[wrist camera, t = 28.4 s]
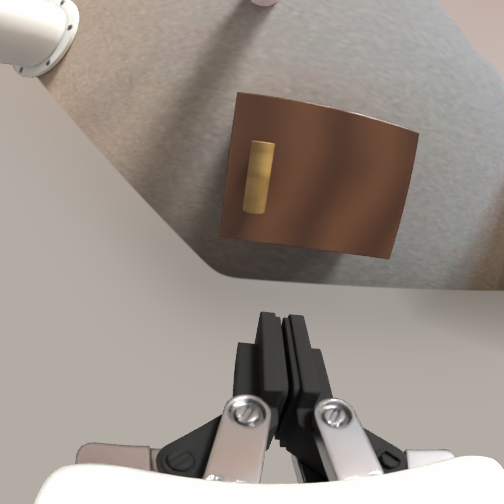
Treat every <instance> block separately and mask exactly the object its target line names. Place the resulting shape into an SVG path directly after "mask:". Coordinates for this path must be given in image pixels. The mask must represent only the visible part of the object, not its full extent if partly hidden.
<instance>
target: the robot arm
mask: <svg viewBox="0 0 504 504" xmlns="http://www.w3.org/2000/svg"><path fill="white" fill-rule="evenodd" d="M78 22H79V13H78V10H77V7H76V6H75V4H74V3H73V2H71V1H70V0H48V1H44V0H0V63H2V64H12V65H13V67H14V69H15V71H16V72H17V73H18V74H19V75H21V76H24V77H37V76H40V75H42V74H44V73H46V72H48V71H49V70H50V69H52V68H53V67H54V66H55V65H56V64H57V63H58V62H59V61H60V60H61V59H62V58H63V56H64V55H65V53H66V52H67V51H68V49H69V47H70V46H71V44H72V42H73V40H74V37H75V35H76V32H77V28H78ZM273 436H275V439H277V440H280V447H286V450H287V451H289V452H290V453H291V454H292V462H293V466H294V470H295V473H296V477H297V481H298V484H260V481H261V475H262V470H263V464H264V458H265V452H266V451H267V450H268V449H269V446H270V444H271V441H272V438H273ZM34 504H504V470H503V469H502V467H501V466H500V465H499V464H498V463H497V462H496V461H495V460H493V459H491V458H487V457H483V456H461V457H456V456H455V454H454V453H453V452H451V451H449V450H444V449H443V450H406V451H404V452H402V451H401V450H400V449H398V448H397V447H395V446H393V445H392V444H390V443H388V442H387V441H385V440H383V439H381V438H380V437H378V436H376V435H375V434H373V433H371V432H370V431H368V430H366V429H365V428H363V427H362V425H361V422H360V420H359V418H358V416H357V414H356V412H355V410H354V409H353V407H352V406H351V405H350V404H349V403H347V402H346V401H344V400H342V399H338V398H333V396H332V392H331V388H330V384H329V380H328V376H327V373H326V368H325V365H324V361H323V357H322V353H321V351H320V349H312V348H311V345H310V341H309V337H308V332H307V328H306V324H305V320H304V317H303V316H301V315H289V316H288V318H283V321H282V325H281V321H280V317H276V316H275V313H270V312H261V313H260V317H259V323H258V328H257V334H256V339H255V344H250V343H240V342H239V343H238V347H237V354H236V361H235V371H234V385H233V398H231V399H230V400H229V401H228V402H227V403H226V405H225V407H224V410H223V414H222V415H220V416H219V417H217V418H215V419H213V420H212V421H210V422H208V423H206V424H205V425H203V426H201V427H199V428H198V429H196V430H194V431H192V432H190V433H189V434H187V435H185V436H184V437H181V438H179V439H177V440H176V441H174V442H172V443H170V444H168V445H166V446H165V447H163V448H162V449H151V448H150V447H149V446H131V445H116V444H104V443H87V444H85V445H83V446H81V448H80V449H79V450H78V452H77V455H76V463H75V464H73V465H67V466H64V467H60V468H58V469H56V470H55V471H54V472H52V473H51V474H50V476H49V477H48V478H47V479H46V481H45V482H44V484H43V485H42V487H41V489H40V491H39V493H38V495H37V497H36V499H35V501H34Z"/></svg>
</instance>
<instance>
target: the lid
mask: <svg viewBox="0 0 504 504" xmlns="http://www.w3.org/2000/svg"><path fill="white" fill-rule="evenodd" d="M418 137H419V133H418V132H416V131H413V130H410V129H407V128H404V127H401V126H398V125H395V124H391V123H388V122H385V121H382V120H378V119H375V118H371V117H368V116H364V115H360V114H356V113H353V112H349V111H345V110H340V109H336V108H332V107H327V106H323V105H318V104H313V103H308V102H303V101H297V100H292V99H286V98H280V97H273V96H266V95H259V94H251V93H242V92H237V98H236V105H235V112H234V120H233V127H232V135H231V143H230V151H229V159H228V167H227V175H226V184H225V193H224V201H223V211H222V220H221V230H220V237H225V238H233V239H241V240H249V241H256V242H264V243H272V244H280V245H287V246H295V247H303V248H310V249H318V250H325V251H333V252H340V253H347V254H355V255H362V256H369V257H376V258H384V259H389V258H390V255H391V252H392V249H393V245H394V242H395V238H396V235H397V231H398V228H399V224H400V220H401V217H402V213H403V209H404V205H405V201H406V197H407V193H408V188H409V184H410V179H411V175H412V170H413V165H414V160H415V154H416V149H417V143H418Z"/></svg>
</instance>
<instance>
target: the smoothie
mask: <svg viewBox="0 0 504 504" xmlns="http://www.w3.org/2000/svg"><path fill="white" fill-rule="evenodd" d="M251 1H252V2H253V3H254V4H256V5H259V6H270V5H273V4H275V3H276V2H277V1H278V0H251Z"/></svg>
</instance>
